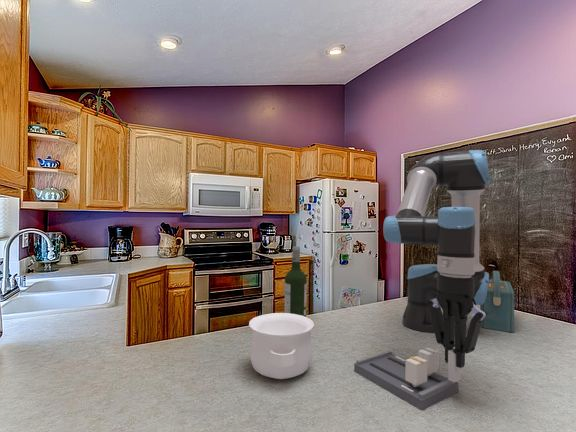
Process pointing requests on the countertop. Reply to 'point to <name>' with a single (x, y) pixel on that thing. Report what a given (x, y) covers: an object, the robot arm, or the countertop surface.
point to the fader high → (430, 359)
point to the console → (391, 377)
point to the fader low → (416, 371)
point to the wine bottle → (295, 287)
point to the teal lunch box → (499, 305)
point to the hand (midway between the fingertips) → (454, 379)
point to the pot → (281, 344)
